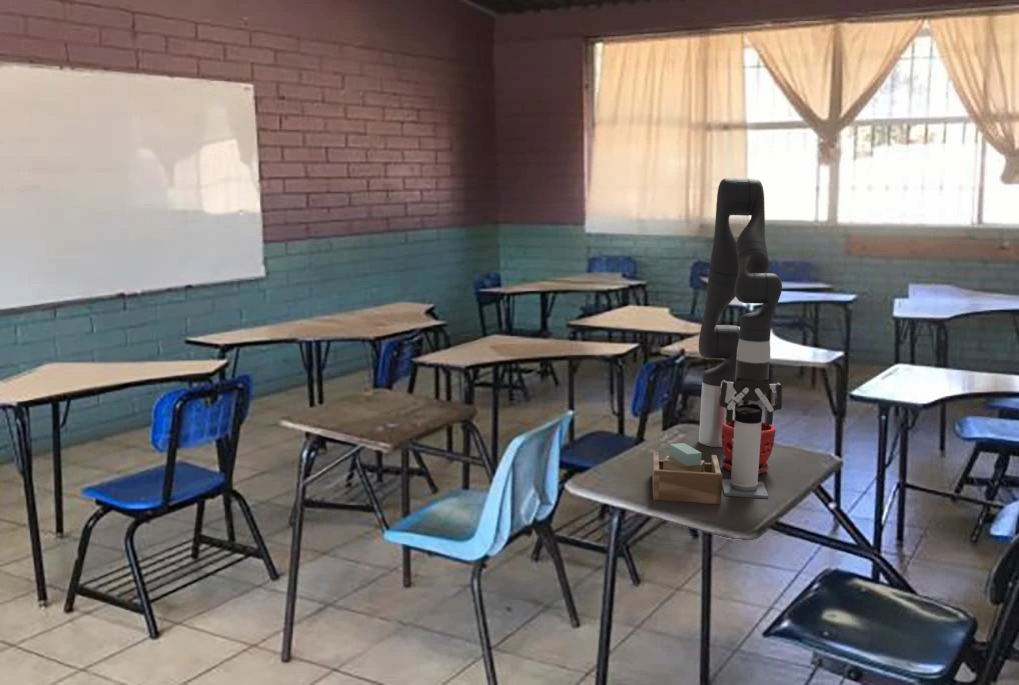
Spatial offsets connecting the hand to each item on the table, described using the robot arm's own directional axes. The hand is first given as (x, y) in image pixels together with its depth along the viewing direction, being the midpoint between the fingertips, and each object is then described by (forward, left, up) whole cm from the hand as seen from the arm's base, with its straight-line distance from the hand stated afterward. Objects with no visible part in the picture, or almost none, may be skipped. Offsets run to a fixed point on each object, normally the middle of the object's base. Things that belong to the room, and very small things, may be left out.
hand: (748, 425), depth 228 cm
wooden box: (+2, -14, -16) cm, 21 cm away
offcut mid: (-2, -14, -13) cm, 20 cm away
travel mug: (0, 0, -16) cm, 16 cm away
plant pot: (-16, +2, -16) cm, 23 cm away
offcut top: (-2, -14, -10) cm, 18 cm away
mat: (0, 0, -16) cm, 16 cm away
